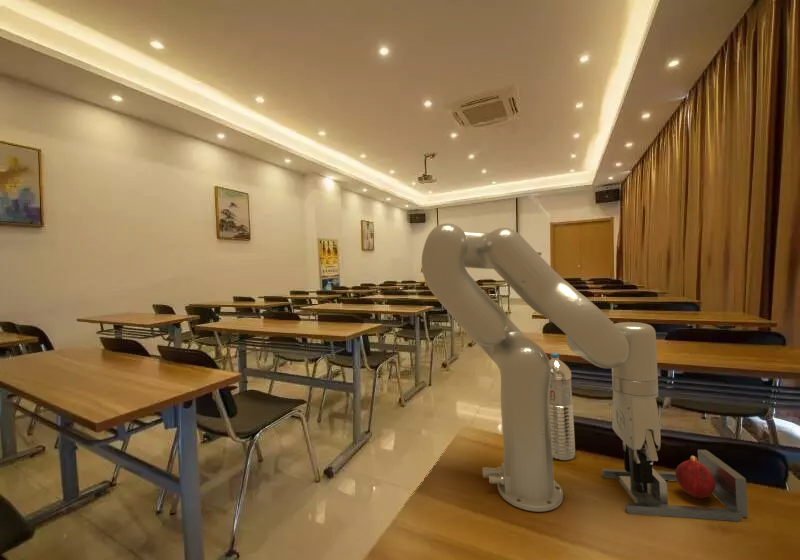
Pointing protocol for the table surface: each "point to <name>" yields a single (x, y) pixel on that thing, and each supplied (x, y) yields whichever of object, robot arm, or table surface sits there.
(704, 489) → the pomegranate
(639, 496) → the carriage
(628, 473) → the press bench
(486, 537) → the table surface
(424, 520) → the table surface
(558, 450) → the water bottle
